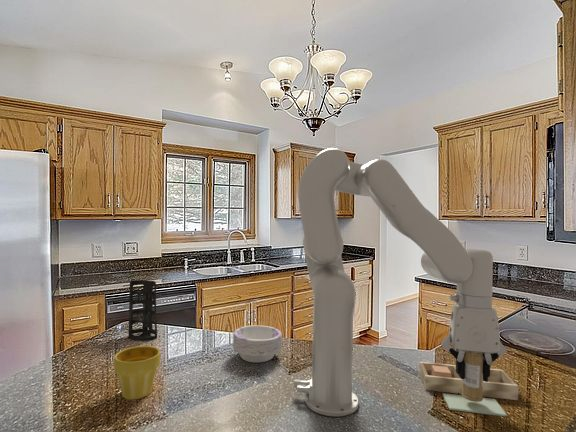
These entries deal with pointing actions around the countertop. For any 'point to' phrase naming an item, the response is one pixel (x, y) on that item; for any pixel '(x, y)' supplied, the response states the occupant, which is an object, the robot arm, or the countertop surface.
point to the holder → (143, 310)
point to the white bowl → (257, 342)
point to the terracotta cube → (440, 371)
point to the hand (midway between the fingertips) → (472, 377)
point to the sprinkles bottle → (473, 376)
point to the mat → (473, 405)
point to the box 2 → (500, 386)
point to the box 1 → (440, 378)
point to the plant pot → (136, 370)
